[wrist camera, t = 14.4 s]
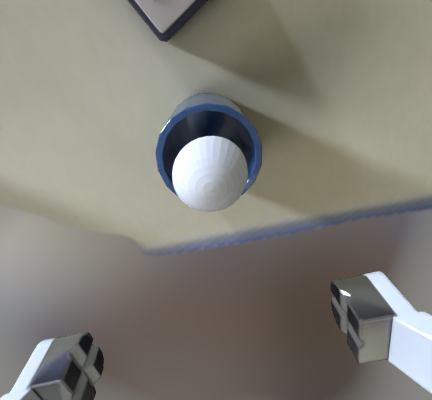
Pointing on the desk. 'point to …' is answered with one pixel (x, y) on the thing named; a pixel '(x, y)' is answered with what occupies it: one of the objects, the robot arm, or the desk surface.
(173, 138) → the cup
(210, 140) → the lollipop
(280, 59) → the desk surface
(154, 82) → the desk surface
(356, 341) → the robot arm
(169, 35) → the calculator
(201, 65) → the desk surface
